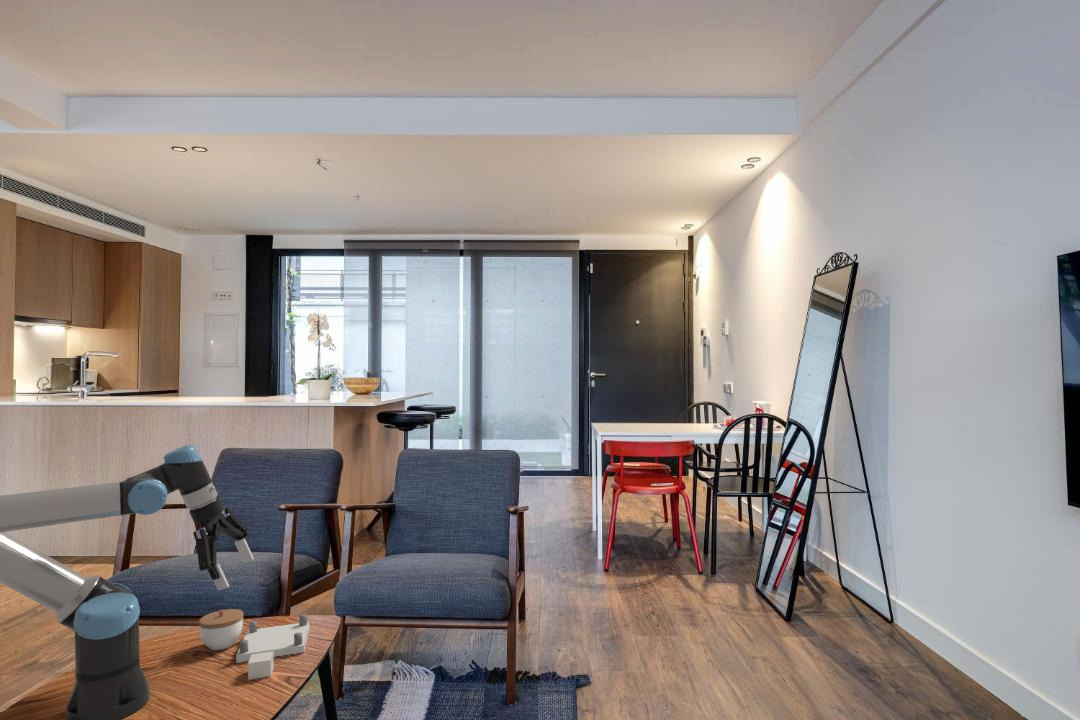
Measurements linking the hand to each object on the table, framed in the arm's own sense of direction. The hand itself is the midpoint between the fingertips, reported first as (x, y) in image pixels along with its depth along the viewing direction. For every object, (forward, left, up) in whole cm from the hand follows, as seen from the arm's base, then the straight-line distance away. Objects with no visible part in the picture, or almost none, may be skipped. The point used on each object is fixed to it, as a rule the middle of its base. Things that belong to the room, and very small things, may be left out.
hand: (236, 574), depth 162 cm
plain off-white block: (+8, -16, -20) cm, 27 cm away
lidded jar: (-5, +5, -20) cm, 22 cm away
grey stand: (+9, 0, -20) cm, 22 cm away
